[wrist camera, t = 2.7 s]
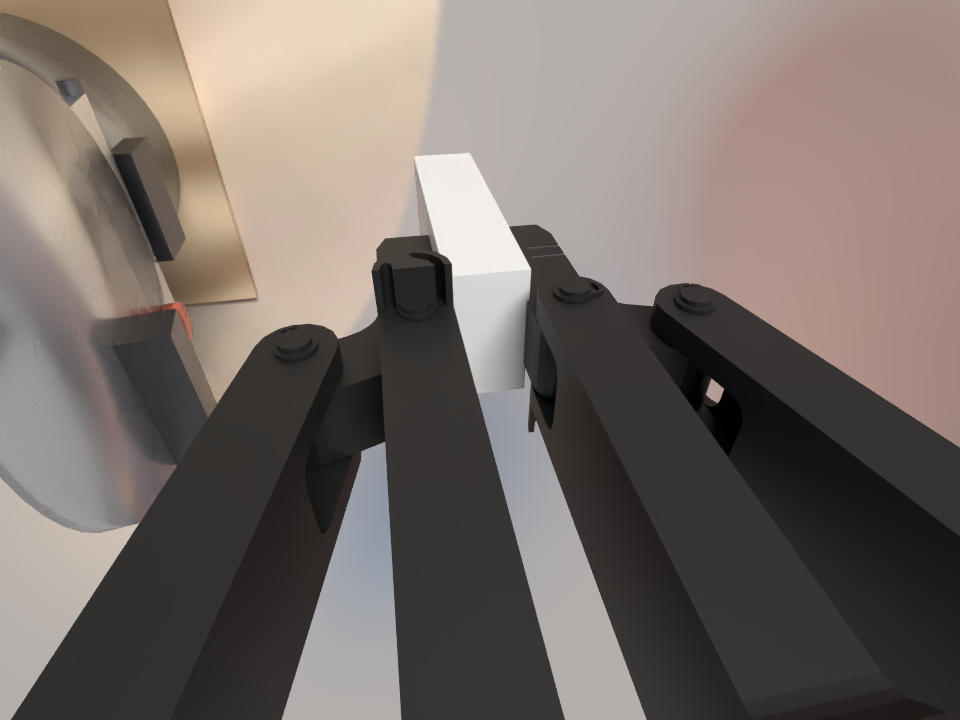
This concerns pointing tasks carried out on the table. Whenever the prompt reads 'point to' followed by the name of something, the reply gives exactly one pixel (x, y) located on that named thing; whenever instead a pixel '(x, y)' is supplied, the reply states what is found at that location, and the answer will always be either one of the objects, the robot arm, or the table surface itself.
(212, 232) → the trivet
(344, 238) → the table surface
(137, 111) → the pot
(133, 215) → the lid
